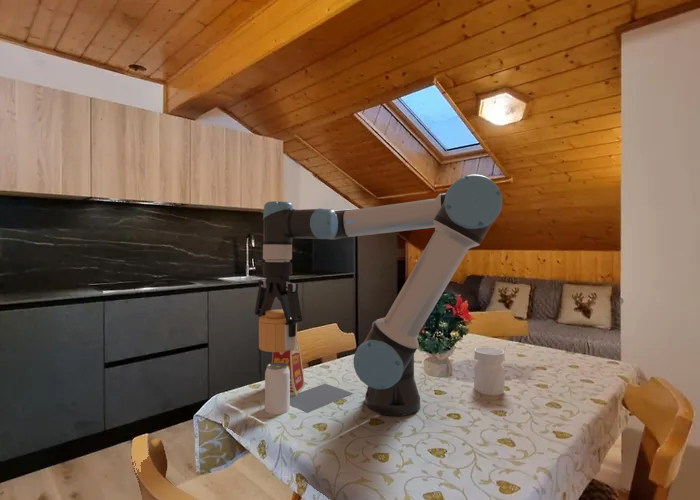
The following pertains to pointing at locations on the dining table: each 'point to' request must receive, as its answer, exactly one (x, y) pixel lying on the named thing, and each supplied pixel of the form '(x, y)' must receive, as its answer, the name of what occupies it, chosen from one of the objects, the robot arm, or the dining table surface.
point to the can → (277, 388)
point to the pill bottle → (489, 371)
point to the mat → (317, 397)
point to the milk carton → (292, 367)
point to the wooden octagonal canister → (273, 331)
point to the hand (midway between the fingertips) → (277, 345)
